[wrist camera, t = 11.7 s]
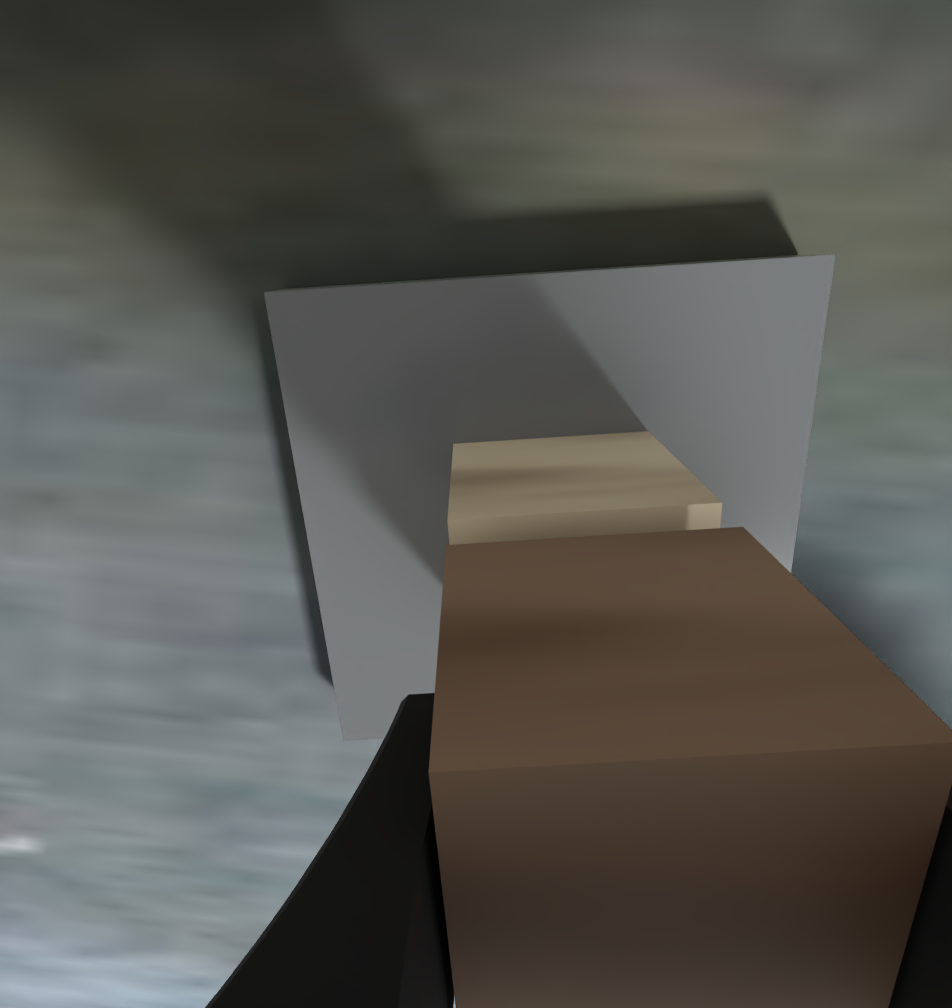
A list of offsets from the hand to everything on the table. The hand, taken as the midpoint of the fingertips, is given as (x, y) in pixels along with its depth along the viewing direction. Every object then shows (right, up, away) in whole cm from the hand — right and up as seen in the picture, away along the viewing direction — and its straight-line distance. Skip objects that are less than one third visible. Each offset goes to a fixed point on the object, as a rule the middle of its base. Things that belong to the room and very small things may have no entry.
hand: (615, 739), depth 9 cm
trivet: (0, +3, +8) cm, 8 cm away
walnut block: (0, +1, +2) cm, 2 cm away
